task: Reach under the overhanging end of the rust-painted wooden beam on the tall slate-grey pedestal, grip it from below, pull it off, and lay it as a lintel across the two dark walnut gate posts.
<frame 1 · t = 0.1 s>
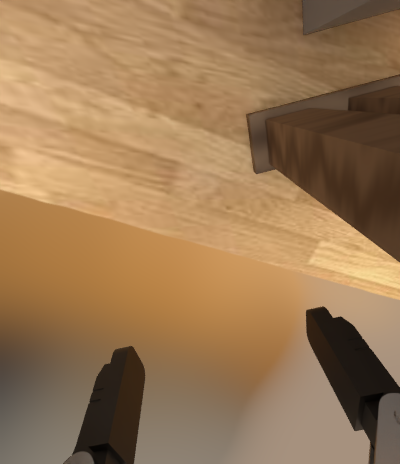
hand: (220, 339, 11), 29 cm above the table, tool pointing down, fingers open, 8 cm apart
gate: (323, 125, 35), on the table
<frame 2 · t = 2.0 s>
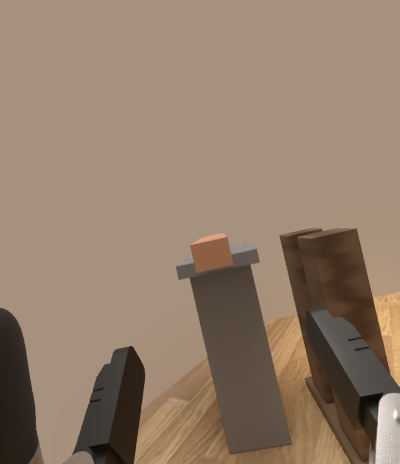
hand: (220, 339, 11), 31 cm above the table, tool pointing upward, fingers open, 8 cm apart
pedestal: (256, 429, 44), on the table
beam: (215, 255, 39), point 32 cm above the table, touching pedestal
gate: (353, 420, 41), on the table
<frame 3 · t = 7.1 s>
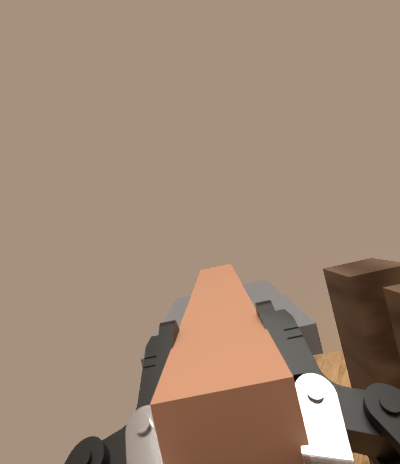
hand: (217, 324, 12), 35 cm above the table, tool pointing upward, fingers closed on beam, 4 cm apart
beam: (225, 325, 20), point 32 cm above the table, touching gripper, pedestal
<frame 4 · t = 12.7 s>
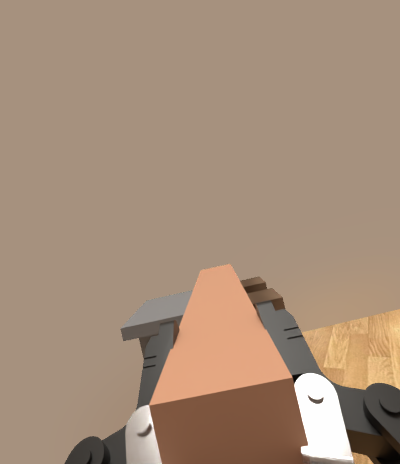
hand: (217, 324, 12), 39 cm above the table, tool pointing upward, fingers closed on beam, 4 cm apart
beam: (224, 325, 20), point 36 cm above the table, touching gripper
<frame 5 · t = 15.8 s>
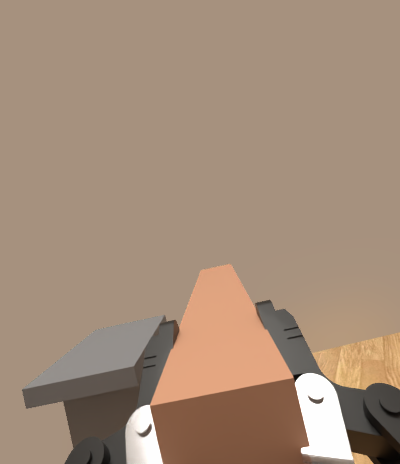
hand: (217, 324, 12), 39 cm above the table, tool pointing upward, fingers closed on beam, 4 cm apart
beam: (225, 325, 20), point 36 cm above the table, touching gripper
when the fingers open (36 cm above the table, at t = 18.5 s): beam stays where it is, resting on gate.
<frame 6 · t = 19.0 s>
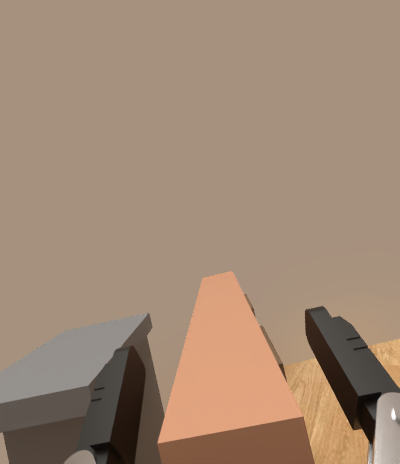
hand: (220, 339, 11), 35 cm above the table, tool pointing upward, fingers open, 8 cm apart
beam: (228, 338, 20), point 32 cm above the table, touching gate
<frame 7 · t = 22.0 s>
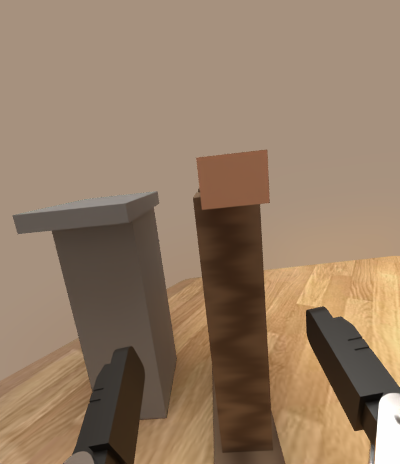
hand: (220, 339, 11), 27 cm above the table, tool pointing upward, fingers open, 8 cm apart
pedestal: (140, 396, 41), on the table
beam: (223, 190, 27), point 32 cm above the table, touching gate
gate: (239, 398, 38), on the table
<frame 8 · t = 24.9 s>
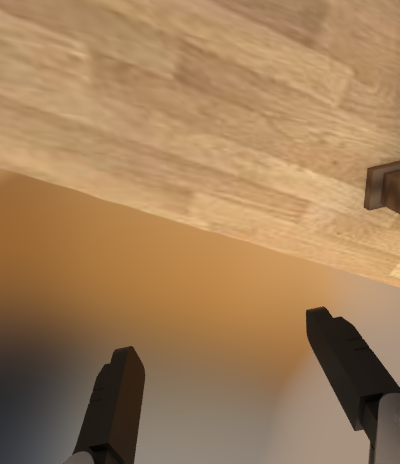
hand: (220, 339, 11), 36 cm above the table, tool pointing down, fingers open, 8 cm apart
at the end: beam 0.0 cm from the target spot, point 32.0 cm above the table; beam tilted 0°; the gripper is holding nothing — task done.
